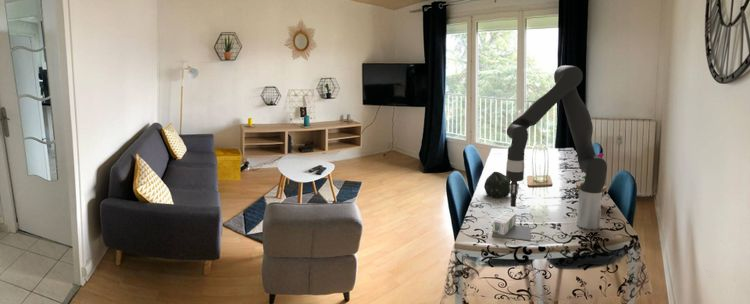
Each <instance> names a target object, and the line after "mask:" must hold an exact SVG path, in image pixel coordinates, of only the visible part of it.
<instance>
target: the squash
mask: <svg viewBox="0 0 750 304" xmlns="http://www.w3.org/2000/svg"><path fill="white" fill-rule="evenodd" d="M485 179H486V180H485V182H484V186H483V187H484V190H485V194H486V195H487V196H488V197H492V198H499V199H503V198H507V197H508V196H509V195H510V188H509V187H510V182H512V181H509V180H507V179H506V174H504V173H501V172H499V171H493V172H491V174H490V175H488V176H487V177H486V178H485Z"/></svg>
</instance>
